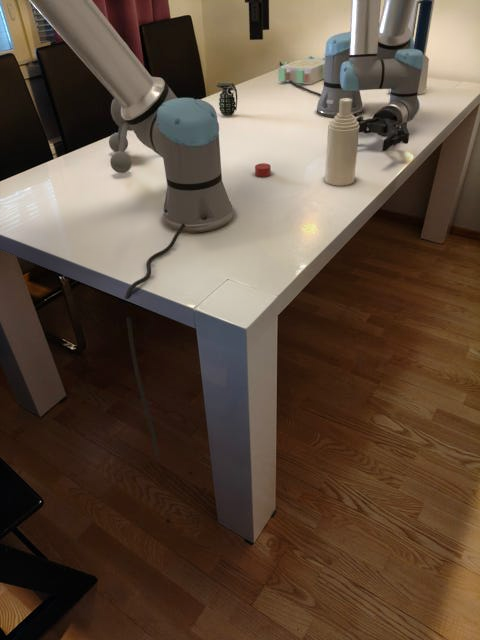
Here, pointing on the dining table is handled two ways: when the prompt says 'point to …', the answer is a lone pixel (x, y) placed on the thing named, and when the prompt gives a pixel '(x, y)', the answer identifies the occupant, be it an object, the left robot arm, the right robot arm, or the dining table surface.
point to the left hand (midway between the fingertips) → (260, 34)
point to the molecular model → (119, 140)
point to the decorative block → (303, 70)
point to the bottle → (342, 146)
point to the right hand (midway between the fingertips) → (358, 141)
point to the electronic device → (421, 35)
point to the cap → (262, 170)
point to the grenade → (227, 99)
